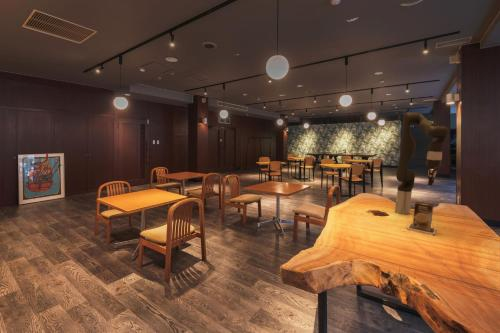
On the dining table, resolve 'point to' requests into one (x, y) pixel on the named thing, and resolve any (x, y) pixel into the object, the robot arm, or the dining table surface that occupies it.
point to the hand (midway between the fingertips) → (430, 184)
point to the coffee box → (422, 216)
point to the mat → (432, 230)
